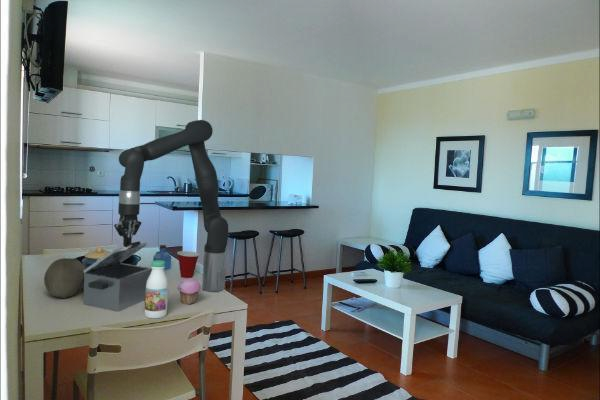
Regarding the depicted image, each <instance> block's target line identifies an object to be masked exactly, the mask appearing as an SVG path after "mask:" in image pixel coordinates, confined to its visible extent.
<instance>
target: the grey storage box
mask: <svg viewBox="0 0 600 400" xmlns="http://www.w3.org/2000/svg"><path fill="white" fill-rule="evenodd" d="M151 271H152V268H151V267H146V266H140V265H134V264H129V263H123V262H121V263H119V264H115V265H112V266H108V267H104V268H101V269H97V270H94V271H90V272H87V273H84V290H83V300H82V301H83V302H82V303H83V305H85V306H90V307H94V308H99V309H104V310H108V311H114V312H117V311H118V312H121V311H123V310H126V309H127V308H130V307H132V306H135V305H137V304H139V303H141V302H145V294H146V283H147V280H148V278H149V276H150V274H151Z"/></svg>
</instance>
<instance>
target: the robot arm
mask: <svg viewBox="0 0 600 400" xmlns="http://www.w3.org/2000/svg"><path fill="white" fill-rule="evenodd" d="M184 127H185V128H184V129H183V130H180V131H178V132H175V133H172V134H169V135H168V134H167V135H164V136H162V137H158V138H156V139H154V140H151V141H148V142H147V143H144V144H141V145H137V146H135V147H134V146H133V147H131V148H126V150H124V151H121V153H120V154H119V156H118V162H119V164H120V165H121V166H122V167H123V168H124V173H123V175H122V176H121V177H120V181H119V182H120V183H119V194H118V208H117V209H118V211H117V212H118V215H119V216H120V217H119V219H118V222H117V223H114V225H113V226H114V229H115V230H116V233H117V234H118V235H119V237H122V240H123V242H122V245H123V248H125V247H126V246H127V245H129V244H130V243H132V242H133V241H132V238H133V237H134V236H136V235H137V233H138V231H139V229H140V227H141V225H142V221H139V220H138V216H139V214H140V209H141V208H140V207H141V206H140V205H141V203H140V202H141V178H142V176H143V171H144V166H145V163H146V162H149V161H154V160H158V159H159V158H161V157H164V156H166V155H169V154H170V153H173V152H174V151H175V152H176V151H177V150H179V149H182V148H184V147H187V146H188V150H189V153H190V156H191V162H192V165H193V166H192V167H193V171H194V178H195V183H196V187H197V192H198V195H199V199H200V204H201V209H202V217H203V228H204V230H205V232H206V235H207V237H206V243H205V245H204V248H203V249H204V251H203V267H202V283H201V289H202V290H203V291H205V292H211V293H212V292H214V293H215V292H216V293H219V292H221V291H222V290H225V288H226V273H227V268H226V267H225V263H226V262H225V261H226V247H227V245H228V239H229V238H228V237H229V223H228V220H226V219H225V217H223V216H222V214H221V211H220V206H219V189H220V188H219V181H218V175H217V170H216V168H215V165H214V163H212V160H211V159H210V157H209V155H208V153H207V150H206V144H205V142H206V141H209V140H210V139H211V137H212V136H213V131H214V130H213V126H212V124H211V123H210V122H208V121H207V120H204V119H197V120H192V121H190V122H188V123H187V124H186V125H185V126H184Z"/></svg>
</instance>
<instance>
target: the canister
mask: <svg viewBox="0 0 600 400" xmlns="http://www.w3.org/2000/svg"><path fill="white" fill-rule="evenodd" d="M109 252H111V251H110V250H105V249H103V247H102V246H98V247H97V246H96V249H95V250H90V251H88V252H87V253H85V254H84V258H83V259H82V260H81V263H82V264H83V265H84V267H85V269H86V268H88V267H89V266H91V265H92V264H94V263H95V262H96V261H98V260H99V259H101V258H102V257H104V256H105V255H106V254H108V253H109ZM81 289H82V290H83V291H84V283H83V284H82V286H81Z"/></svg>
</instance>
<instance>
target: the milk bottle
mask: <svg viewBox="0 0 600 400" xmlns="http://www.w3.org/2000/svg"><path fill="white" fill-rule="evenodd" d="M150 266H151V267H150V268H152V271H151V274H150V276H149V278H148V280H147V283H146V294H145V300H144V317H146V318H147V319H153V320H155V319H161V318H164V317H166V316H167V313H168V302H169V301H168V300H169V282H168V281H169V280H168V278H167V275H166V273H165V270H164V268H165V261H162V260H155V261H153V260H152V261H151V265H150Z"/></svg>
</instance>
